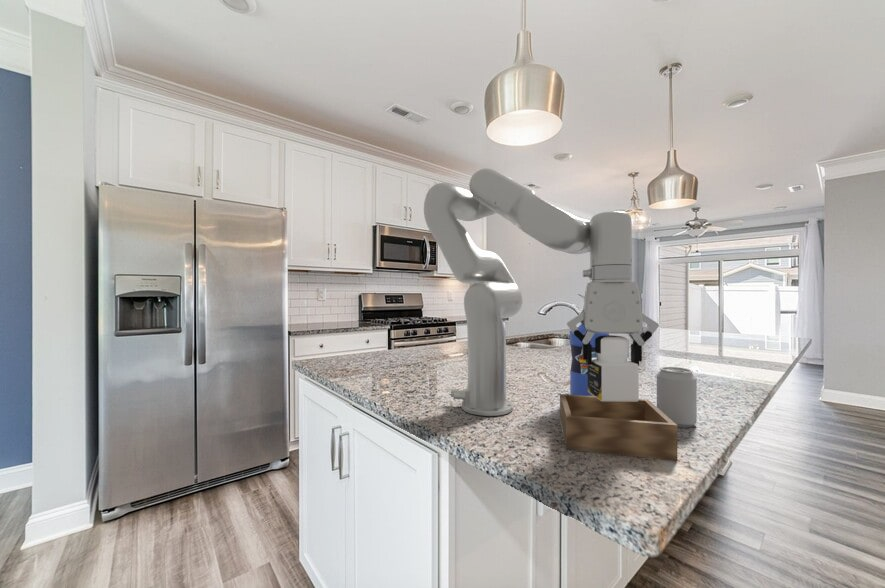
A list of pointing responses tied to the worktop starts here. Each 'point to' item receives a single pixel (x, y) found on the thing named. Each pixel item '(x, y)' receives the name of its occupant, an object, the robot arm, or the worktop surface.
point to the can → (677, 395)
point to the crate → (617, 427)
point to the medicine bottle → (613, 371)
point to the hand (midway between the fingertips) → (611, 363)
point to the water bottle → (580, 363)
